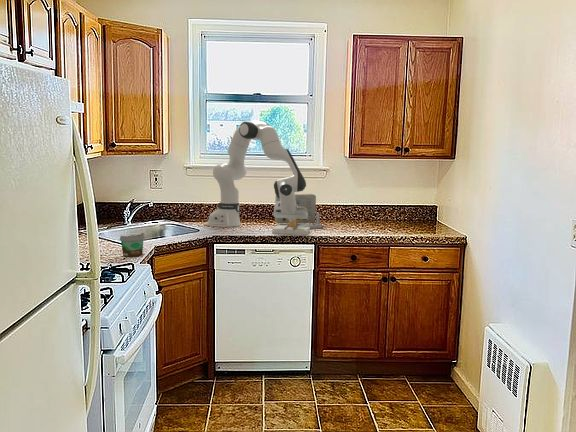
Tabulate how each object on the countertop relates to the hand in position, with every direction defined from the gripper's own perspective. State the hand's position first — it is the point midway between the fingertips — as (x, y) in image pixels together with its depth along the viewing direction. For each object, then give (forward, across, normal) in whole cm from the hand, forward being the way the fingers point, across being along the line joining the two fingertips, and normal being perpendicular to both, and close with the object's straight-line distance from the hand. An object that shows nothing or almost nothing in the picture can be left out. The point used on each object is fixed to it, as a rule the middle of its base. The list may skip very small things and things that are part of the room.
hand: (292, 220), depth 329 cm
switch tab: (+4, 0, +1) cm, 4 cm away
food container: (-56, +58, +66) cm, 104 cm away
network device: (+20, +2, -11) cm, 23 cm away
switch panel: (+3, 0, +6) cm, 7 cm away
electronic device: (+16, -9, -6) cm, 20 cm away
